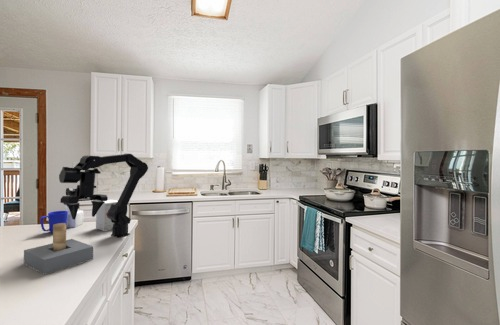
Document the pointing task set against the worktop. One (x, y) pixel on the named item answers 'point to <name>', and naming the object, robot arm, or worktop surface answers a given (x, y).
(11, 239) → the worktop surface
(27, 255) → the socket block
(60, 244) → the pin
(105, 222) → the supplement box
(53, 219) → the mug
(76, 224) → the container
